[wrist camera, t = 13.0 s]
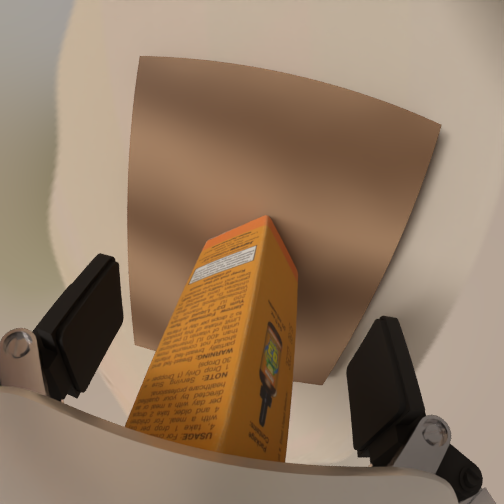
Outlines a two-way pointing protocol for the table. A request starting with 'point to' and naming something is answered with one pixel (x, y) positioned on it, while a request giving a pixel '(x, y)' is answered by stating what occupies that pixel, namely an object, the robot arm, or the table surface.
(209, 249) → the supplement box
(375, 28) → the table surface
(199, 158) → the walnut board
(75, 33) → the table surface
